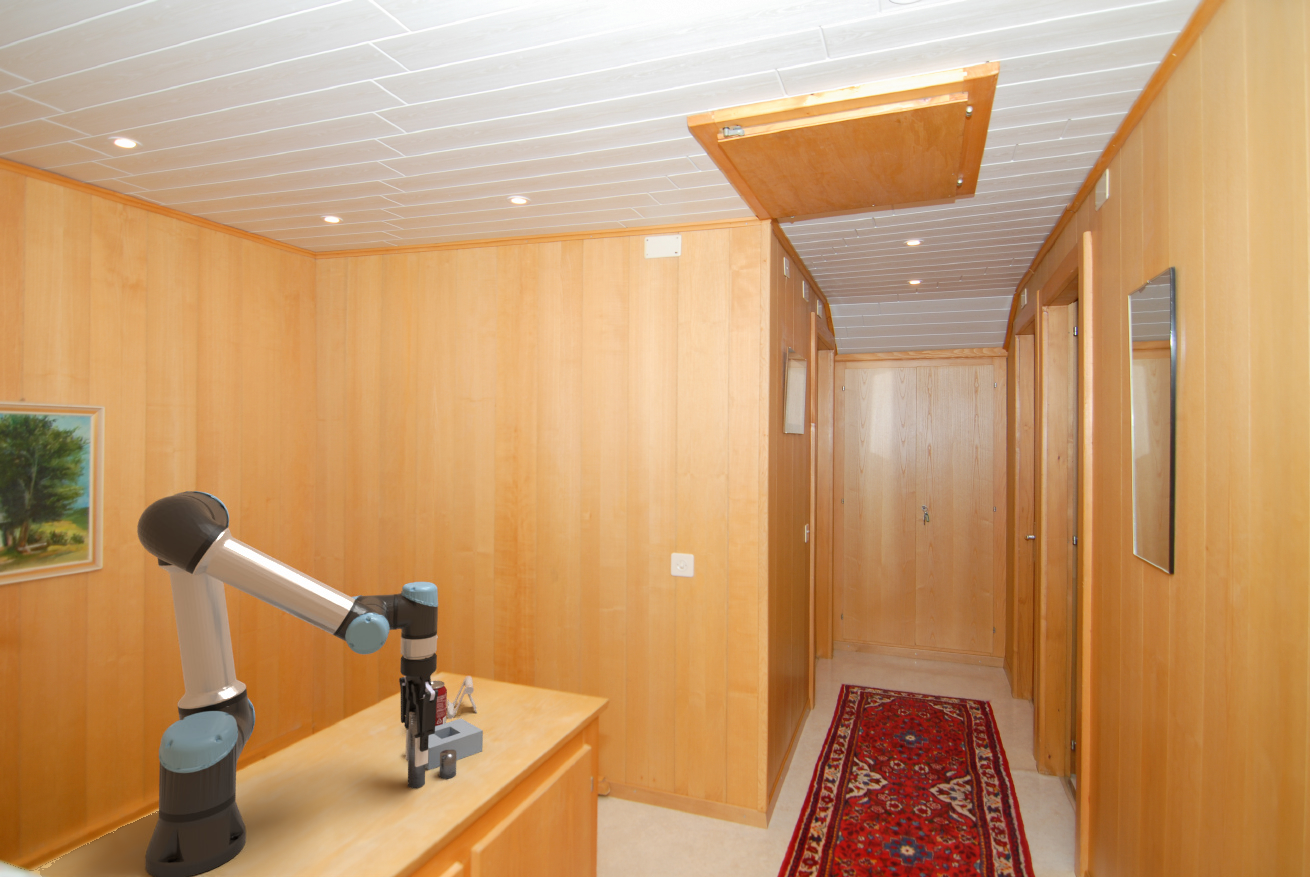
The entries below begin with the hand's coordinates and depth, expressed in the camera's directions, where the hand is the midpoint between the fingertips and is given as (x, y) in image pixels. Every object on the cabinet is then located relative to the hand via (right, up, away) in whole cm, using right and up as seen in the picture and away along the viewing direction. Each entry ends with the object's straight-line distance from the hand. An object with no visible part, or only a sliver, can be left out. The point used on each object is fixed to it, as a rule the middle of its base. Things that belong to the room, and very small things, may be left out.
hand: (416, 760), depth 150 cm
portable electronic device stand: (-1, -5, +40) cm, 41 cm away
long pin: (0, -5, 0) cm, 5 cm away
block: (+2, -5, +15) cm, 16 cm away
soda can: (-5, -5, +28) cm, 29 cm away
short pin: (+6, -5, +4) cm, 9 cm away
